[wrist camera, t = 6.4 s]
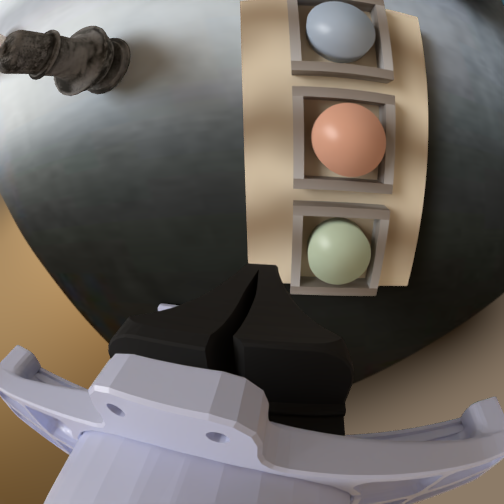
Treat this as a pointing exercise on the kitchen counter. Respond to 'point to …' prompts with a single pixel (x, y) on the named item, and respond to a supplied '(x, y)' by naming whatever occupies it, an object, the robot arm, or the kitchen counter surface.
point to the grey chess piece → (67, 59)
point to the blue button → (339, 31)
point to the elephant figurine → (2, 39)
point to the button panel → (301, 152)
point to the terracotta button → (348, 139)
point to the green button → (338, 251)
